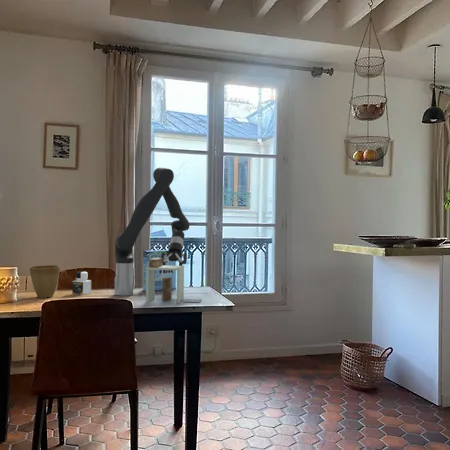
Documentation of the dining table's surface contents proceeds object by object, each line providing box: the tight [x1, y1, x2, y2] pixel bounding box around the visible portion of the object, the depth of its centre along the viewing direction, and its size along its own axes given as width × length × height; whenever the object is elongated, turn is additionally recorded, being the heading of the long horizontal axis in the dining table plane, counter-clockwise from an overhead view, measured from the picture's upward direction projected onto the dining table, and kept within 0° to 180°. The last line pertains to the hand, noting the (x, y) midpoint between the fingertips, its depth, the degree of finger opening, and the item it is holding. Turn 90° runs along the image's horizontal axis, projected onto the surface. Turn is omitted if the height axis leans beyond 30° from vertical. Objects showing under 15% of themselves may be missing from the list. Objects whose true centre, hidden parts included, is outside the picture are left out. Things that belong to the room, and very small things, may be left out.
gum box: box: [142, 249, 177, 292], centre depth 269 cm, size 20×5×23 cm, turn 123°
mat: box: [182, 298, 202, 304], centre depth 228 cm, size 8×8×1 cm
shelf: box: [145, 265, 185, 304], centre depth 231 cm, size 17×13×17 cm
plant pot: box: [29, 264, 61, 299], centre depth 238 cm, size 15×15×16 cm
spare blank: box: [149, 258, 162, 268], centre depth 231 cm, size 4×11×4 cm, turn 174°
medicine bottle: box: [71, 271, 92, 296], centre depth 251 cm, size 7×7×12 cm
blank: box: [161, 277, 173, 301], centre depth 235 cm, size 4×4×11 cm
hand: (171, 268), depth 245 cm, fingers open, 8 cm apart
